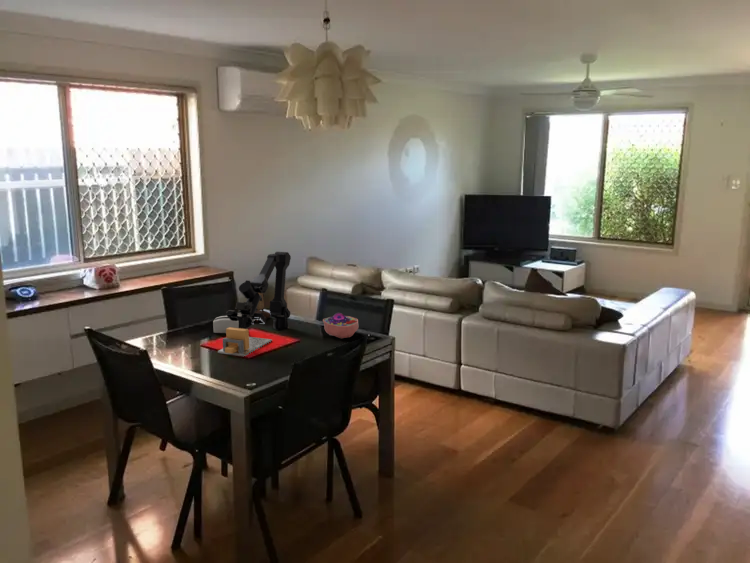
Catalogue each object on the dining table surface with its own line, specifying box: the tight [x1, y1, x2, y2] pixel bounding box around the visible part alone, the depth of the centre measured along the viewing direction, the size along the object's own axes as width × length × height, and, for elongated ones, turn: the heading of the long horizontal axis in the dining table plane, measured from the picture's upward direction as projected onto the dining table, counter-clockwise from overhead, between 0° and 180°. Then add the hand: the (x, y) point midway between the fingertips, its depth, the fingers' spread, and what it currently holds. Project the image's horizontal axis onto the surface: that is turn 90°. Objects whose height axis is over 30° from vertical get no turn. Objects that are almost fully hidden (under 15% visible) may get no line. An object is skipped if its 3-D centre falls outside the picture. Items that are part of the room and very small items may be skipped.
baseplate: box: [217, 336, 273, 357], centre depth 298 cm, size 24×14×7 cm, turn 159°
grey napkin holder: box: [212, 315, 239, 334], centre depth 321 cm, size 17×5×10 cm, turn 81°
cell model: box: [322, 312, 359, 339], centre depth 312 cm, size 17×20×11 cm
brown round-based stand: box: [255, 293, 271, 323], centre depth 344 cm, size 15×15×20 cm
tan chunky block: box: [225, 327, 250, 353], centre depth 289 cm, size 9×10×9 cm
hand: (239, 332), depth 293 cm, fingers closed
